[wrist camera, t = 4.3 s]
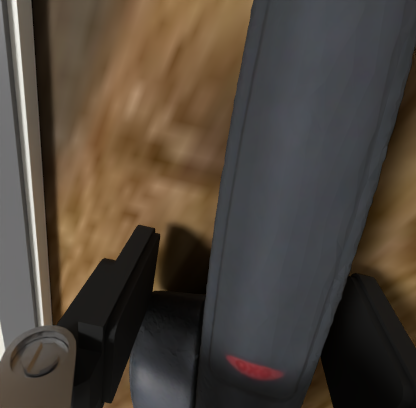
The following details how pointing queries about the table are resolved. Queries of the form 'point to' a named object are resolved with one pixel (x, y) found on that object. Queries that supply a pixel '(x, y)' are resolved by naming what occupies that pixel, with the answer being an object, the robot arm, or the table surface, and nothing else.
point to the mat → (21, 181)
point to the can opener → (283, 207)
